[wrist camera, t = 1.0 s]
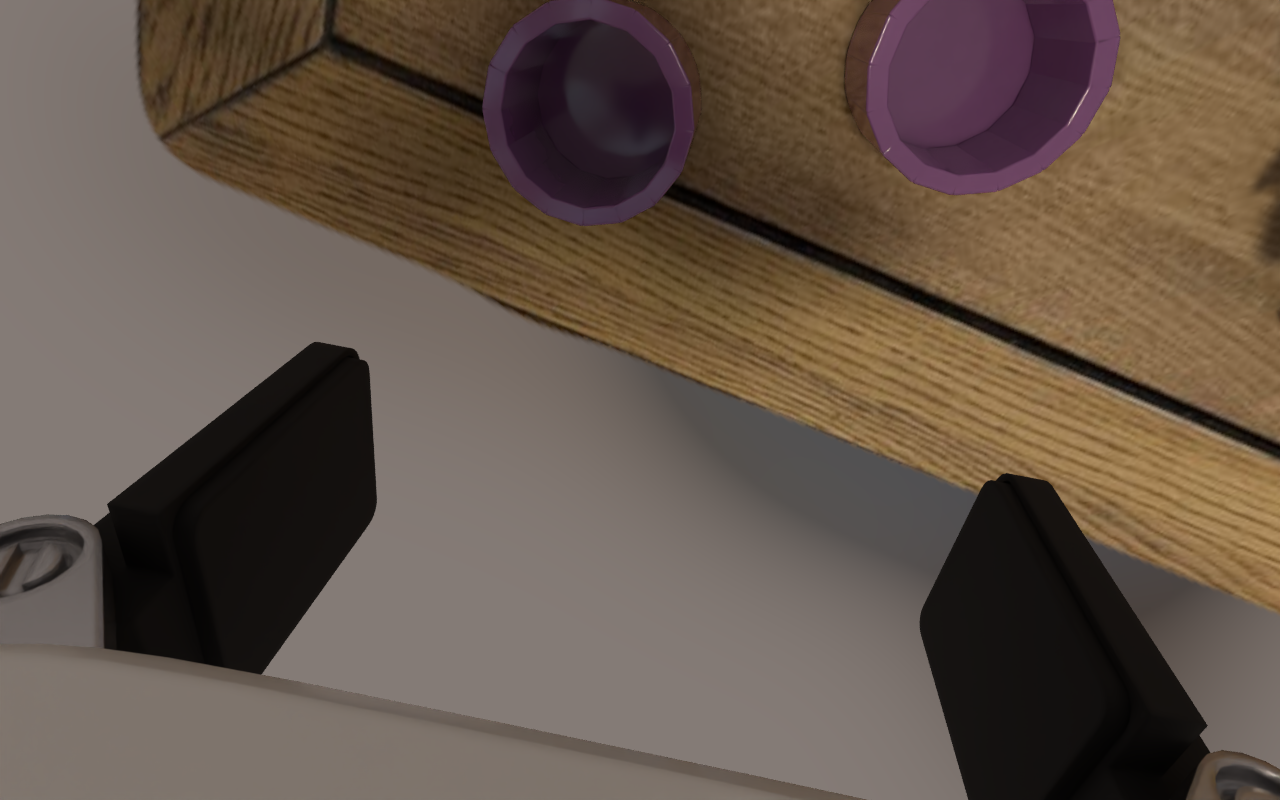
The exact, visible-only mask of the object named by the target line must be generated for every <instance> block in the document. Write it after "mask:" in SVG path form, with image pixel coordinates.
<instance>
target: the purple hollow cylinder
mask: <svg viewBox="0 0 1280 800" xmlns="http://www.w3.org/2000/svg"><path fill="white" fill-rule="evenodd" d="M1119 35H1120V30H1119V26H1118V21H1117V17H1116V13H1115V8H1114V4H1113V0H872V1H871V2H870V4H869V5H868V6H867V8H866V10H865V11H864V13H863V15H862V16H861V18H860V20H859V22H858V24H857V26H856V28H855V30H854V33H853V35H852V38H851V41H850V44H849V48H848V53H847V57H846V64H845V90H846V95H847V101H848V104H849V107H850V110H851V113H852V115H853V117H854V119H855V121H856V123H857V125H858V128H859V130H860V131H861V133H862V134H863V135H864V136H865V137H866V138H867V139H868V140H869V141H870V142H871V143H872V144H873V145H874V147H875V148H876V149H877V150H878V151H879V152H880V153H881V154H882V155H883V156H884V157H885V158H886V159H887V160H888V161H889V162H890V163H891V164H893V165H894V166H895V167H896V168H897V169H898V170H899V171H900V172H901V173H902V174H903V175H904V176H905V177H906V178H907V179H908V180H909V181H911V182H913V183H915V184H918V185H921V186H924V187H927V188H930V189H933V190H936V191H939V192H942V193H945V194H948V195H965V194H977V193H989V192H996V191H997V190H998V191H1000V190H1002V189H1005V188H1007V187H1009V186H1011V185H1013V184H1016V183H1018V182H1020V181H1022V180H1024V179H1027V178H1029V177H1031V176H1033V175H1035V174H1038V173H1040V172H1041V171H1042V170H1044V169H1046V168H1047V167H1048V166H1049V165H1050V164H1052V163H1053V162H1054V161H1055V160H1056V159H1057V158H1058V157H1059V156H1060V155H1061V154H1063V153H1064V152H1065V151H1066V150H1067V149H1068V148H1069V147H1070V146H1071V145H1073V144H1074V143H1075V142H1076V141H1077V140H1078V139H1079V138H1080V137H1081V136H1082V134H1083V133H1084V132H1085V131H1086V129H1087V127H1088V126H1089V124H1090V122H1091V120H1092V119H1093V117H1094V115H1095V114H1096V112H1097V110H1098V108H1099V107H1100V105H1101V103H1102V102H1103V100H1104V98H1105V96H1106V95H1107V93H1108V91H1109V87H1111V84H1112V79H1113V74H1114V69H1115V63H1116V58H1117V53H1118V47H1119V42H1120V36H1119Z"/></svg>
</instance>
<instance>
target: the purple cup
mask: <svg viewBox="0 0 1280 800" xmlns="http://www.w3.org/2000/svg"><path fill="white" fill-rule="evenodd" d="M482 108H483V116H484V121H485V126H486V130H487V135H488V140H489V145H490V150H491V151H492V154H493V156H494V158H495V159H496V161H497V162H498V164H499V166H500V167H501V169H502V171H503V172H504V174H505V176H506V177H507V179H508V180H509V182H510V184H511V185H512V187H513V188H514V189H515V190H516V191H517V192H518V193H519V194H521V195H522V196H523V197H524V198H526V199H527V200H528V201H529V202H531V203H532V204H533V205H534V206H536V207H537V208H538V209H539V210H541V211H542V212H543V213H546V215H549V216H552V217H555V218H558V219H561V220H564V221H568V222H571V223H574V224H577V225H580V226H583V225H584V226H592V225H604V224H616V223H621V222H624V221H626V220H628V219H630V218H632V217H634V216H636V215H638V214H640V213H641V212H643V211H645V210H647V209H649V208H651V207H653V206H654V205H655V204H656V203H658V202H659V200H660V199H661V198H662V197H663V195H664V194H665V193H666V192H667V190H668V189H669V188H670V187H671V186H672V184H673V183H674V182H675V181H676V179H677V178H678V177H679V176H680V174H681V172H682V171H683V168H684V165H685V162H686V160H687V157H688V154H689V151H690V148H691V146H692V142H693V139H694V136H695V132H696V129H697V126H698V123H699V119H700V116H701V111H702V106H701V85H700V76H699V73H698V69H697V66H696V63H695V60H694V58H693V55H692V53H691V51H690V49H689V47H688V46H687V44H686V42H685V40H684V39H683V37H682V36H681V34H680V33H679V32H678V31H677V30H676V29H675V28H674V27H673V26H672V25H671V24H670V22H668V21H667V20H666V19H665V18H663V17H662V16H661V15H660V14H658V13H657V12H656V11H655V10H652V8H649V7H646V6H643V5H641V4H638V3H636V2H632V1H628V0H551V1H549V2H546V3H544V4H543V5H541V6H540V7H538V8H537V9H536V10H534V11H533V12H531V13H530V14H528V15H527V16H525V17H524V18H522V19H521V20H519V21H518V22H517V23H515V24H514V25H513V27H511V28H510V29H509V31H508V33H507V34H506V36H505V38H504V39H503V41H502V43H501V44H500V46H499V48H498V49H497V51H496V53H495V54H494V56H493V58H492V59H491V61H490V65H489V66H488V72H487V78H486V85H485V91H484V98H483V104H482Z"/></svg>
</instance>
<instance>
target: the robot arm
mask: <svg viewBox="0 0 1280 800" xmlns="http://www.w3.org/2000/svg"><path fill="white" fill-rule="evenodd" d="M371 409H372V408H371V391H370V373H369V366H368V364H367V362H366V361H364V360H360V359H359V356H358V354H357V352H356V351H355V350H354V349H352V348H347V347H341V346H336V345H331V344H326V343H321V342H314V343H312V344H310V345H309V346H307V347H306V348H305V349H304V350H302V351H301V352H300V353H298V354H297V355H296V356H295V357H293V358H292V359H291V360H290V361H288V362H287V363H286V364H284V365H283V366H282V367H281V368H279V369H278V370H277V371H276V372H274V373H273V374H272V375H271V376H269V377H268V378H267V379H265V380H264V381H263V382H262V383H260V384H259V385H258V386H257V387H255V388H254V389H253V390H251V391H250V392H249V393H248V394H246V395H245V396H244V397H243V398H241V399H240V400H239V401H237V402H236V403H235V404H234V405H232V406H231V407H230V408H229V409H227V410H226V411H225V412H224V413H222V414H221V415H220V416H218V417H217V418H216V419H215V420H214V421H212V422H211V423H210V424H208V425H207V426H206V427H205V428H203V429H202V430H201V431H200V432H198V433H197V434H196V435H194V436H193V437H192V438H190V439H189V440H188V441H187V442H185V443H184V444H183V445H182V446H180V447H179V448H178V449H177V450H175V451H174V452H173V453H171V454H170V455H169V456H168V457H166V458H165V459H164V460H163V461H161V462H160V463H159V464H158V465H156V466H155V467H154V468H152V469H151V470H150V471H149V472H147V473H146V474H145V475H143V476H142V477H141V478H140V479H138V480H137V481H136V482H135V483H133V484H132V485H131V486H130V487H128V488H127V489H126V490H125V491H123V492H122V493H121V494H120V495H118V496H117V497H116V498H115V499H113V500H112V501H110V502H109V503H108V504H107V505H108V508H109V511H110V513H109V514H107V515H106V516H105V517H104V518H102V519H101V520H100V521H98V522H97V523H96V524H95V525H92V524H91V523H89V522H88V521H87V520H84V519H80V518H77V517H73V516H69V515H41V516H33V517H26V518H20V519H17V520H13V521H9V522H6V523H2V524H0V800H866V799H861V798H856V797H852V796H847V795H842V794H838V793H833V792H828V791H824V790H819V789H814V788H809V787H805V786H800V785H796V784H790V783H786V782H781V781H777V780H772V779H768V778H763V777H758V776H754V775H749V774H744V773H739V772H735V771H730V770H725V769H720V768H716V767H711V766H706V765H701V764H696V763H692V762H687V761H682V760H677V759H672V758H668V757H663V756H658V755H653V754H649V753H644V752H639V751H634V750H630V749H625V748H620V747H615V746H610V745H606V744H601V743H596V742H591V741H586V740H581V739H577V738H571V737H567V736H562V735H557V734H553V733H547V732H542V731H538V730H533V729H528V728H524V727H519V726H514V725H509V724H505V723H500V722H495V721H490V720H485V719H480V718H475V717H470V716H465V715H460V714H455V713H451V712H445V711H441V710H436V709H431V708H426V707H421V706H416V705H411V704H406V703H401V702H396V701H391V700H386V699H381V698H376V697H371V696H367V695H362V694H357V693H352V692H347V691H342V690H337V689H332V688H327V687H322V686H317V685H312V684H307V683H302V682H298V681H292V680H287V679H281V678H276V677H270V676H265V675H261V674H262V673H263V672H264V670H265V669H266V667H267V666H268V665H269V663H270V662H271V660H272V659H273V658H274V656H275V655H276V653H277V652H278V651H279V649H280V648H281V646H282V645H283V644H284V642H285V641H286V639H287V638H288V636H289V635H290V634H291V632H292V631H293V630H294V628H295V627H296V625H297V624H298V623H299V621H300V620H301V619H302V617H303V616H304V614H305V613H306V612H307V610H308V609H309V607H310V606H311V604H312V603H313V602H314V600H315V599H316V598H317V596H318V595H319V593H320V592H321V591H322V589H323V588H324V586H325V585H326V584H327V582H328V581H329V579H330V578H331V576H332V575H333V574H334V572H335V571H336V570H337V568H338V567H339V565H340V564H341V563H342V561H343V560H344V558H345V557H346V556H347V554H348V553H349V551H350V550H351V549H352V547H353V546H354V545H355V543H356V542H357V540H358V539H359V538H360V536H361V535H362V533H363V532H364V531H365V529H366V528H367V526H368V525H369V523H370V522H371V520H372V518H373V516H374V512H375V509H376V503H377V495H376V477H375V460H374V443H373V425H372V410H371ZM920 632H921V636H922V640H923V643H924V647H925V650H926V654H927V657H928V660H929V664H930V668H931V671H932V675H933V678H934V681H935V685H936V689H937V692H938V696H939V699H940V702H941V706H942V709H943V713H944V716H945V720H946V723H947V727H948V730H949V734H950V737H951V741H952V744H953V747H954V751H955V755H956V758H957V762H958V765H959V769H960V772H961V776H962V779H963V783H964V786H965V790H966V793H967V797H968V800H1280V769H1278V768H1277V767H1275V766H1273V765H1271V764H1269V763H1267V762H1266V761H1263V760H1260V759H1257V758H1255V757H1252V756H1249V755H1247V754H1244V753H1238V752H1232V751H1224V750H1221V751H1217V752H1213V753H1210V751H1209V750H1208V748H1207V747H1206V745H1205V744H1204V742H1203V740H1202V739H1201V737H1200V734H1201V733H1202V731H1203V730H1204V729H1205V728H1206V727H1207V724H1206V722H1205V721H1204V719H1203V718H1202V716H1201V715H1200V713H1199V712H1198V710H1197V708H1196V707H1195V706H1194V704H1193V702H1192V701H1191V699H1190V698H1189V696H1188V695H1187V693H1186V692H1185V690H1184V688H1183V687H1182V685H1181V684H1180V682H1179V681H1178V679H1177V678H1176V676H1175V675H1174V673H1173V672H1172V670H1171V668H1170V667H1169V665H1168V664H1167V662H1166V661H1165V659H1164V658H1163V656H1162V655H1161V653H1160V651H1159V650H1158V648H1157V647H1156V645H1155V644H1154V642H1153V641H1152V639H1151V638H1150V636H1149V634H1148V633H1147V631H1146V630H1145V628H1144V627H1143V626H1142V624H1141V622H1140V621H1139V619H1138V618H1137V616H1136V614H1135V613H1134V612H1133V610H1132V608H1131V607H1130V605H1129V604H1128V602H1127V601H1126V599H1125V597H1124V596H1123V594H1122V593H1121V591H1120V590H1119V588H1118V587H1117V585H1116V584H1115V582H1114V581H1113V579H1112V577H1111V576H1110V575H1109V573H1108V572H1107V570H1106V568H1105V567H1104V565H1103V564H1102V562H1101V560H1100V559H1099V557H1098V556H1097V554H1096V553H1095V551H1094V550H1093V548H1092V547H1091V545H1090V544H1089V542H1088V540H1087V539H1086V537H1085V536H1084V534H1083V533H1082V531H1081V530H1080V528H1079V527H1078V525H1077V523H1076V522H1075V520H1074V519H1073V517H1072V516H1071V514H1070V513H1069V511H1068V510H1067V508H1066V507H1065V505H1064V503H1063V502H1062V500H1061V499H1060V497H1059V496H1058V494H1057V493H1056V491H1055V490H1054V488H1053V486H1052V485H1051V484H1050V483H1049V482H1047V481H1044V480H1040V479H1034V478H1029V477H1024V476H1019V475H1013V474H1008V473H1006V474H1002V475H1001V476H1000V477H999V478H998V479H997V480H996V481H993V480H990V481H987V482H986V483H985V484H984V485H983V487H982V488H981V490H980V492H979V494H978V497H977V499H976V501H975V503H974V505H973V507H972V509H971V511H970V513H969V515H968V517H967V519H966V521H965V523H964V525H963V527H962V529H961V531H960V533H959V535H958V537H957V539H956V541H955V543H954V545H953V547H952V549H951V551H950V553H949V556H948V557H947V559H946V561H945V563H944V565H943V567H942V569H941V572H940V574H939V575H938V578H937V580H936V582H935V584H934V586H933V588H932V590H931V592H930V594H929V596H928V598H927V600H926V602H925V604H924V606H923V608H922V611H921V615H920Z"/></svg>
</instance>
